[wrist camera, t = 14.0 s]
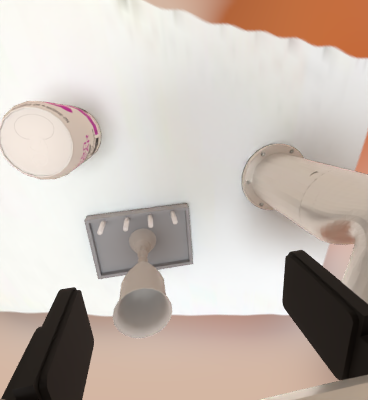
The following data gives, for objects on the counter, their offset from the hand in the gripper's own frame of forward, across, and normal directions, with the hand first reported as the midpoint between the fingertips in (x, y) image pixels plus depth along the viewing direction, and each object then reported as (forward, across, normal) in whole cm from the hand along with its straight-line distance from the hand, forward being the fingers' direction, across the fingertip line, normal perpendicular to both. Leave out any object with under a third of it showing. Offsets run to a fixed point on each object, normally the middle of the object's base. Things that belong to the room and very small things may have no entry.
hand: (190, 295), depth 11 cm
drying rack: (+33, +4, +14) cm, 36 cm away
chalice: (+32, +4, +14) cm, 36 cm away
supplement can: (+34, +12, -6) cm, 36 cm away
